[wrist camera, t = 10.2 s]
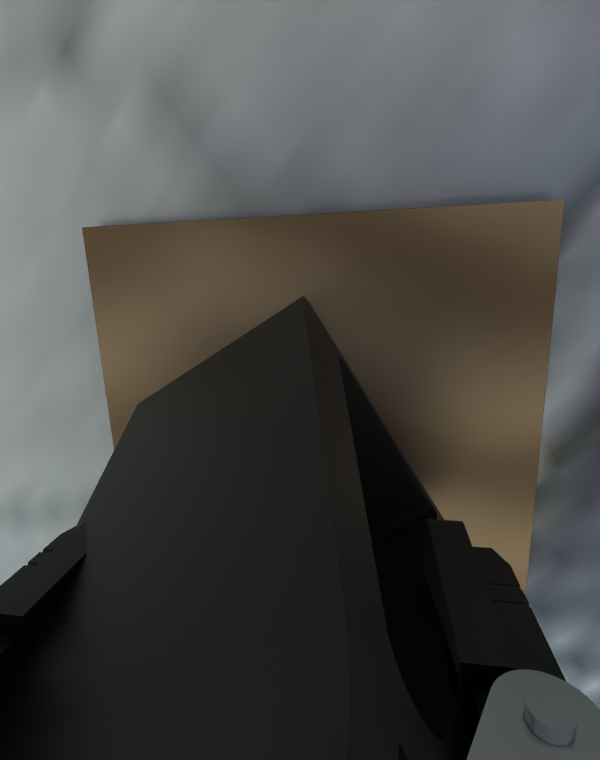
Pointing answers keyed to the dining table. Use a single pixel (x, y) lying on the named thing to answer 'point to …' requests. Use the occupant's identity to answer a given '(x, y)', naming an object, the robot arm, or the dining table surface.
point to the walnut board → (364, 330)
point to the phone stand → (247, 580)
